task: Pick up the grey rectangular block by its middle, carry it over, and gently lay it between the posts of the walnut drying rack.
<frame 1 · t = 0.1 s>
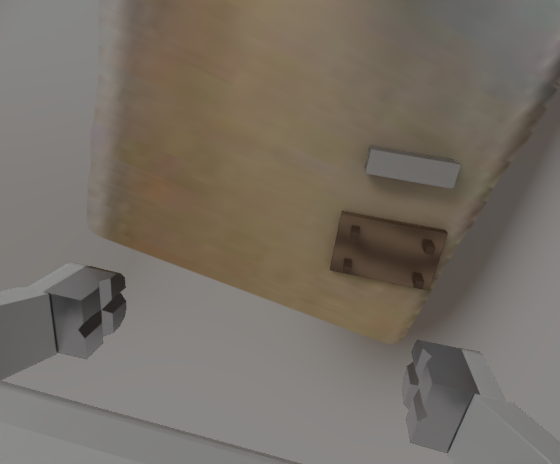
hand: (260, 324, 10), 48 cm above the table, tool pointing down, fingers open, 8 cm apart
grey rectangular block: (407, 163, 53), on the table
drying rack: (385, 249, 59), on the table
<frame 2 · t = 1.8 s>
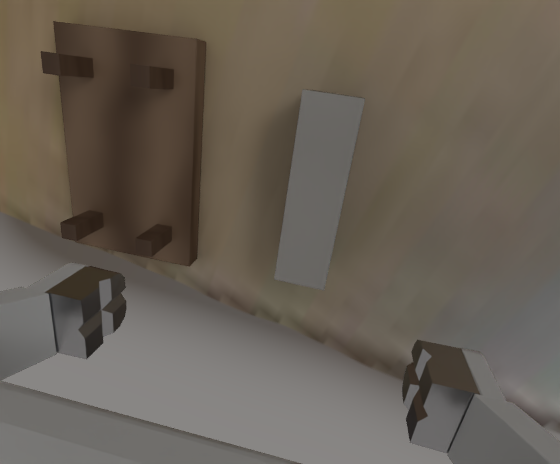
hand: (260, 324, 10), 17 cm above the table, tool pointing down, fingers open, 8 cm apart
grey rectangular block: (321, 182, 26), on the table
drying rack: (139, 151, 27), on the table
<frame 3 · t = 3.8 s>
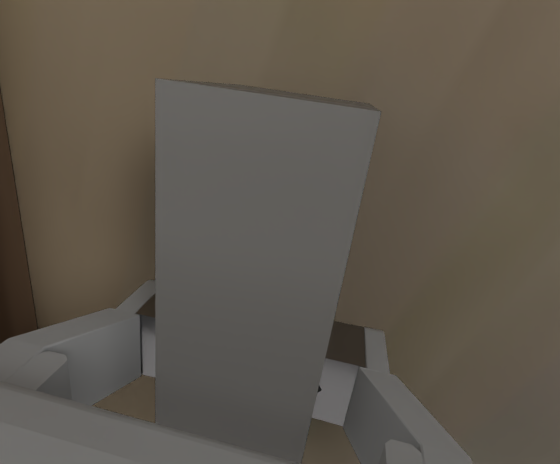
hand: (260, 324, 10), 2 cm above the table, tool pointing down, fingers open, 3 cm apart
grey rectangular block: (274, 292, 12), on the table
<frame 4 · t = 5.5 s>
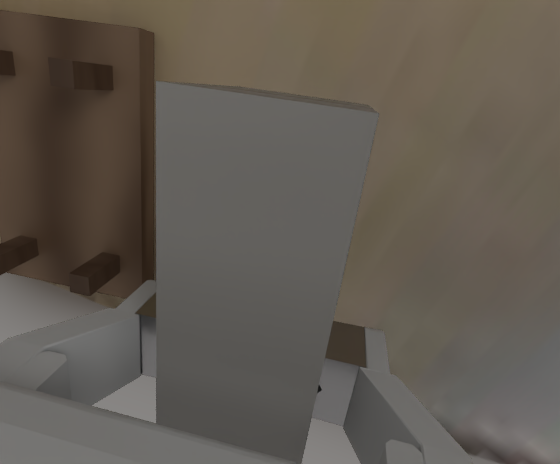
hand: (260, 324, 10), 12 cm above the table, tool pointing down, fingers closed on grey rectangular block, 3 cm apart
grey rectangular block: (274, 292, 12), point 10 cm above the table, touching gripper
drying rack: (79, 165, 23), on the table
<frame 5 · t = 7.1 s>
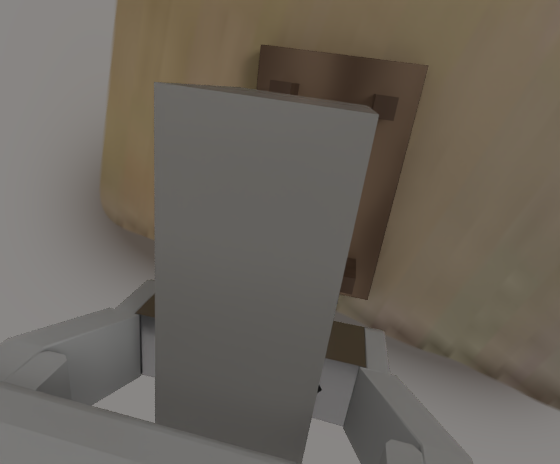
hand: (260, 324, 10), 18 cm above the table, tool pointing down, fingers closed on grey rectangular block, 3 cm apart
grey rectangular block: (273, 294, 12), point 16 cm above the table, touching gripper
drying rack: (321, 179, 26), on the table
when the fingers open (4 cm above the table, at t = 10.1 s): grey rectangular block stays where it is, resting on drying rack.
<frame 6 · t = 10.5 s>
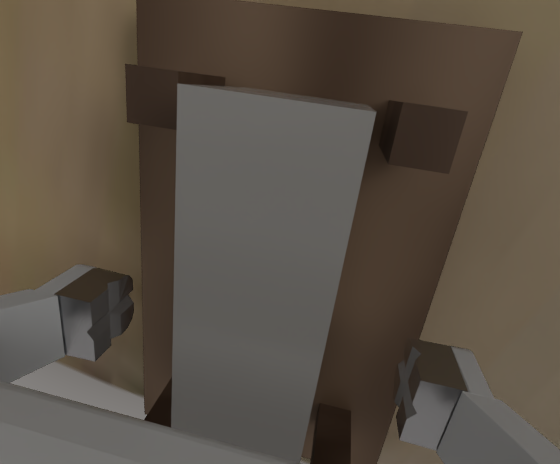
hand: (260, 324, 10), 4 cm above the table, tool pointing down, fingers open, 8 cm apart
grey rectangular block: (278, 282, 12), point 1 cm above the table, touching drying rack
drying rack: (285, 261, 14), on the table
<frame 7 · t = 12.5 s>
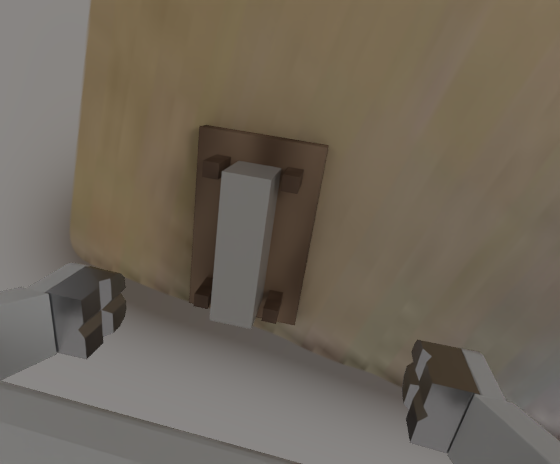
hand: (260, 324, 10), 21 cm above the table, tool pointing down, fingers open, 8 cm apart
grey rectangular block: (251, 235, 30), point 1 cm above the table, touching drying rack
drying rack: (254, 227, 32), on the table
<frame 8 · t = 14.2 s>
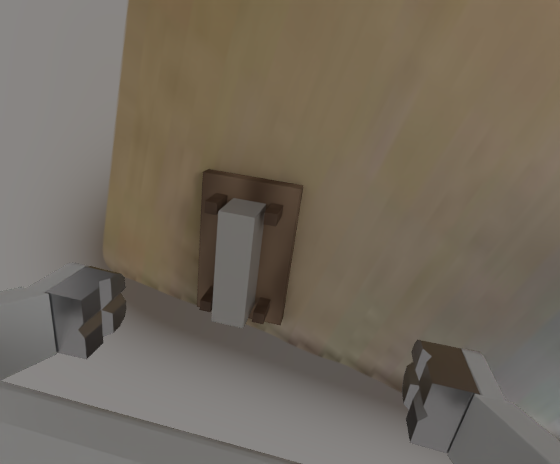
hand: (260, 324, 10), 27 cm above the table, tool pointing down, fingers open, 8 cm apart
grey rectangular block: (244, 254, 38), point 1 cm above the table, touching drying rack
drying rack: (247, 247, 40), on the table
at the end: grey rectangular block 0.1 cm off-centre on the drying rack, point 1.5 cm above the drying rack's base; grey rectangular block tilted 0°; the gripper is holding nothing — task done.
